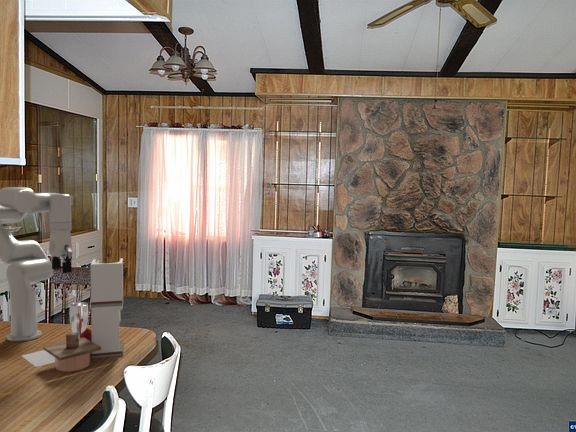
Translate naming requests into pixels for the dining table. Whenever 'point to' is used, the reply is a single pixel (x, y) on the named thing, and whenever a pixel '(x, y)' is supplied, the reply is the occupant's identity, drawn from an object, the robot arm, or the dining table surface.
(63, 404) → the dining table surface
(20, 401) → the dining table surface
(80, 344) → the lid
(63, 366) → the bowl
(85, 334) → the onion
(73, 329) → the beer glass
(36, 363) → the mat
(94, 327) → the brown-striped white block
